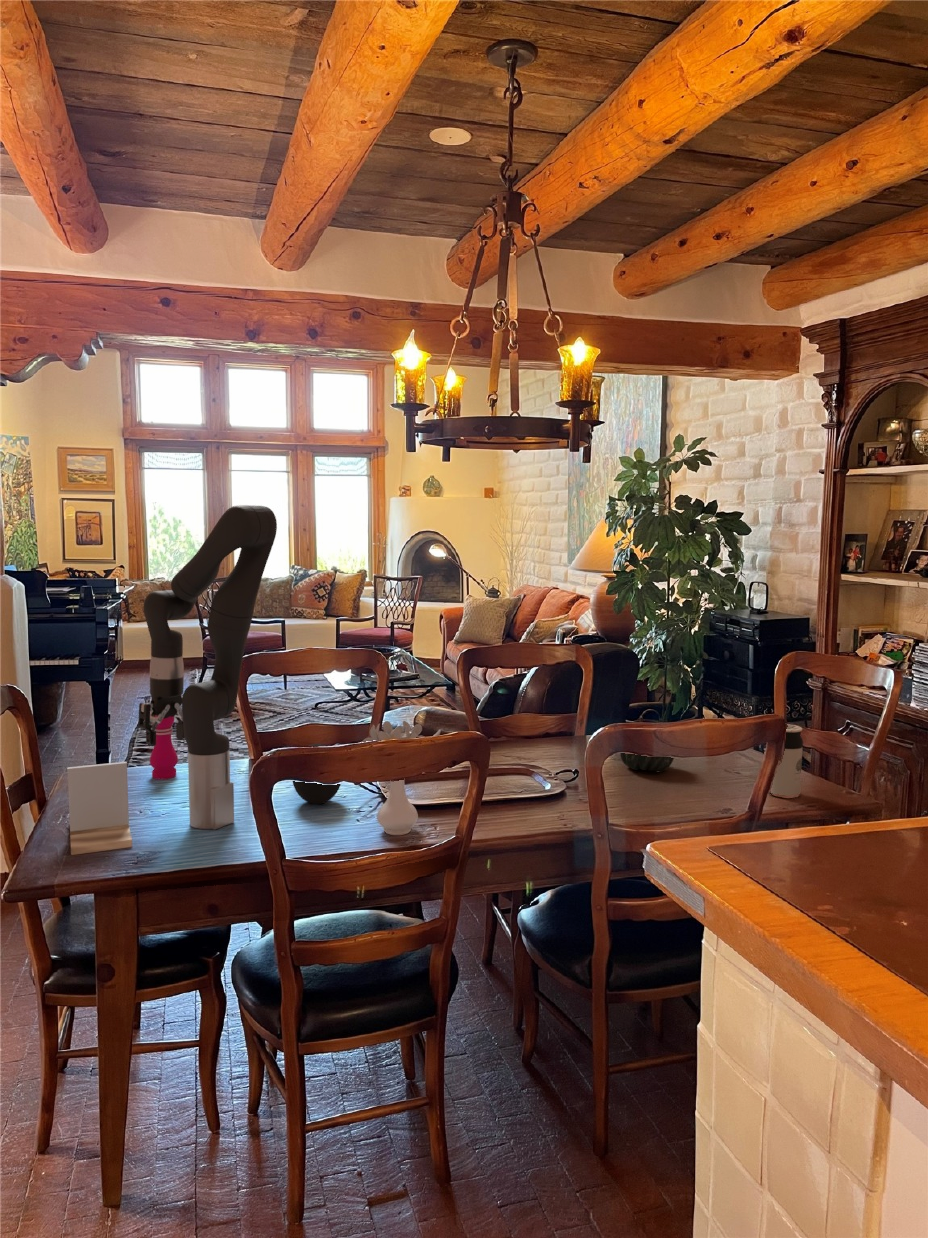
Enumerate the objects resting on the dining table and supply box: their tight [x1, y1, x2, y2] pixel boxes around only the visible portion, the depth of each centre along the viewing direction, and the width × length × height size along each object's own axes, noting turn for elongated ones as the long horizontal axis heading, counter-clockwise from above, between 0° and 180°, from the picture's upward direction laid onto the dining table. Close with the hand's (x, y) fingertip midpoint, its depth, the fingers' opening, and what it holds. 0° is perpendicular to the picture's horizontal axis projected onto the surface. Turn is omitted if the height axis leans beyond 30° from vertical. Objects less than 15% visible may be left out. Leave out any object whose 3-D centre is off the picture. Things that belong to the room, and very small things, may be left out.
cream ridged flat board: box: [69, 823, 133, 856], centre depth 195 cm, size 20×12×2 cm, turn 25°
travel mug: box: [771, 723, 804, 796], centre depth 228 cm, size 8×8×18 cm
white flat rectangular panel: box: [66, 761, 130, 833], centre depth 193 cm, size 1×12×14 cm, turn 115°
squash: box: [619, 721, 675, 772], centre depth 250 cm, size 14×15×15 cm
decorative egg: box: [292, 743, 342, 805], centre depth 217 cm, size 12×12×15 cm
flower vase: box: [360, 720, 441, 836], centre depth 199 cm, size 13×18×25 cm
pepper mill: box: [149, 715, 179, 780], centre depth 238 cm, size 7×7×20 cm
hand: (166, 742), depth 208 cm, fingers open, 8 cm apart
